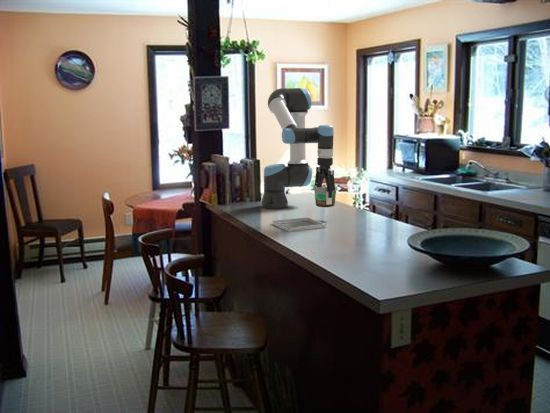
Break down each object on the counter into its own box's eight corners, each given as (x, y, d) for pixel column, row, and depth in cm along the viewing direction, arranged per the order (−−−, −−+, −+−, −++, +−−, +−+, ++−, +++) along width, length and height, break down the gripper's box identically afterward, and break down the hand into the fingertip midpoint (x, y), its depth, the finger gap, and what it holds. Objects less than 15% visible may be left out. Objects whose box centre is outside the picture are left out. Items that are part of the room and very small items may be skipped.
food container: (310, 207, 297) (310, 187, 294) (313, 204, 303) (313, 184, 300) (334, 208, 293) (335, 188, 291) (337, 205, 299) (337, 185, 297)
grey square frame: (271, 224, 289) (271, 220, 289) (308, 220, 297) (308, 217, 297) (288, 231, 273) (288, 228, 273) (326, 227, 281) (326, 224, 281)
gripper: (308, 155, 301) (307, 199, 306) (329, 160, 282) (328, 207, 287) (321, 154, 305) (320, 198, 309) (343, 159, 285) (342, 206, 290)
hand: (324, 202), depth 298 cm, fingers closed on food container, 9 cm apart
